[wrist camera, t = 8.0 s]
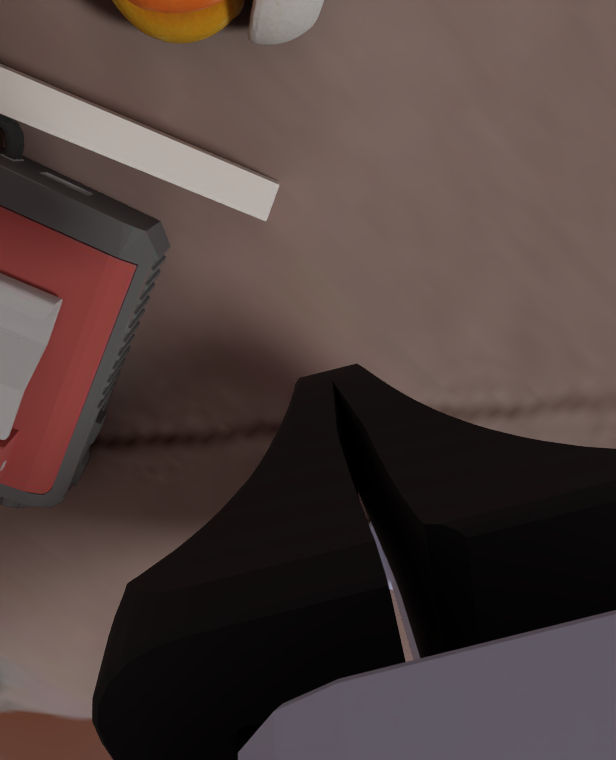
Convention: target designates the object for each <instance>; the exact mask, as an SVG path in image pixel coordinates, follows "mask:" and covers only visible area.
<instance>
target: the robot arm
mask: <svg viewBox="0 0 616 760" xmlns="http://www.w3.org/2000/svg"><path fill="white" fill-rule="evenodd" d="M358 492H359V495H360V497H361V499H362V502H363V504H364V507H365V509H366V511H367V514H368V516H369V519H370V523H369V524H368V522H367V519H366V516H365V514H364V511H363V509H362V506H361V503H360V501H359V495H358ZM390 589H391V590H393V591H394V594H395V598H396V601H397V605H398V608H399V611H400V615H401V618H402V622H403V625H404V629H405V632H406V635H407V639H408V642H409V646H410V649H411V653H412V656H413V659H414V660H412V661H408V662H405V657H404V653H403V648H402V644H401V639H400V635H399V630H398V626H397V621H396V616H395V612H394V607H393V603H392V598H391V594H390ZM92 722H93V724H94V726H95V728H96V731H97V733H98V736H99V738H100V740H101V742H102V744H103V745H104V747H105V748H106V750H107V751H108V753H109V754H110V756H111V757H112V759H113V760H616V449H610V448H595V447H583V446H575V445H568V444H561V443H554V442H547V441H541V440H535V439H530V438H525V437H520V436H516V435H512V434H507V433H503V432H499V431H495V430H491V429H488V428H484V427H481V426H477V425H474V424H471V423H468V422H466V421H463V420H460V419H457V418H454V417H451V416H449V415H446V414H444V413H441V412H439V411H437V410H434V409H432V408H430V407H428V406H426V405H424V404H422V403H420V402H418V401H416V400H414V399H412V398H410V397H408V396H406V395H405V394H403V393H401V392H400V391H398V390H396V389H394V388H393V387H391V386H390V385H388V384H387V383H385V382H384V381H382V380H381V379H379V378H378V377H376V376H375V375H373V374H372V373H370V372H369V371H368V370H366V369H365V368H363V367H362V366H360V365H358V364H353V365H349V366H345V367H341V368H337V369H333V370H329V371H325V372H321V373H317V374H313V375H309V376H306V377H302V378H299V379H298V381H297V382H296V384H295V388H294V392H293V395H292V399H291V401H290V404H289V407H288V410H287V412H286V414H285V417H284V419H283V421H282V424H281V426H280V428H279V430H278V432H277V434H276V436H275V438H274V439H273V441H272V443H271V445H270V447H269V449H268V451H267V452H266V454H265V456H264V457H263V459H262V460H261V462H260V464H259V465H258V467H257V468H256V470H255V471H254V472H253V474H252V475H251V477H250V478H249V479H248V480H247V482H246V483H245V484H244V485H243V486H242V487H241V488H240V490H239V491H238V492H237V493H236V494H235V495H234V496H233V497H232V498H231V499H230V501H229V502H228V503H227V504H226V505H225V506H224V507H223V508H222V509H221V510H220V511H219V512H218V513H217V514H216V515H215V516H214V517H213V518H212V519H211V520H210V521H209V522H208V523H207V524H206V525H204V526H203V527H202V528H201V529H200V530H199V531H198V532H196V533H195V534H194V535H193V536H192V537H191V538H189V539H188V540H187V541H186V542H185V543H183V544H182V545H181V546H179V547H178V548H177V549H176V550H174V551H173V552H172V553H170V554H169V555H167V556H166V557H165V558H163V559H162V560H160V561H159V562H158V563H156V564H155V565H153V566H152V567H151V568H149V569H148V570H146V571H145V572H144V573H142V574H141V575H139V576H138V577H136V578H135V579H133V580H132V581H130V582H129V583H128V584H127V586H126V589H125V592H124V595H123V597H122V600H121V602H120V605H119V607H118V610H117V612H116V615H115V618H114V621H113V624H112V627H111V631H110V634H109V637H108V641H107V645H106V649H105V652H104V656H103V660H102V664H101V668H100V672H99V676H98V680H97V683H96V687H95V691H94V695H93V704H92Z"/></svg>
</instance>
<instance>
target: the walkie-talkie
mask: <svg viewBox="0 0 616 760" xmlns="http://www.w3.org/2000/svg"><path fill="white" fill-rule="evenodd" d="M0 127H1V128H2V130H3V131H4V133H5V148H4V150H0V504H1V505H4V506H6V507H12V508H23V507H30V506H32V507H50V508H51V507H53V506H55V505H57V504H59V503H61V502H63V500H64V498H65V497H66V495H67V493H68V491H69V490H70V488H71V486H72V484H73V485H77V483H78V481H79V479H80V478H81V476H82V474H83V472H84V470H85V467H86V465H87V463H88V460H89V458H90V453H89V449H90V446H91V444H92V443H93V442H94V441H95V439H96V437H97V435H98V434H99V432H100V430H101V428H102V425H103V423H104V420H105V418H106V415H107V413H108V412H105V409H106V406H107V404H108V401H109V399H110V396H111V394H112V391H113V389H114V386H115V383H116V382H115V380H116V378H117V377H118V375H119V373H120V370H119V369H120V368H121V366H122V365H123V363H124V361H125V358H124V357H125V355H126V354H127V352H128V351H129V348H130V347H129V344H130V343H131V341H132V340H133V338H134V336H135V335H134V334H133V333H134V332H135V330H136V329H137V327H138V326H139V323H140V322H139V321H138V320H139V319H140V317H141V316H142V315H143V313H144V311H145V310H144V309H143V307H144V306H145V305H146V303H147V302H148V301H149V298H150V297H149V296H148V294H149V293H150V292H151V291H152V289H153V288H154V286H155V284H154V283H153V281H154V280H155V279H156V278H157V276H158V275H159V273H160V270H159V269H158V268H159V267H160V265H161V264H162V263H163V262H164V261H165V258H166V257H165V256H164V253H165V252H166V251H167V250H168V249H169V248H170V244H169V242H168V239H167V236H166V234H165V231H164V229H163V226H162V224H161V221H159V220H157V219H155V218H153V217H151V216H148V215H146V214H144V213H142V212H140V211H138V210H136V209H134V208H132V207H129V206H127V205H125V204H123V203H121V202H119V201H117V200H115V199H113V198H110V197H108V196H106V195H104V194H102V193H100V192H98V191H96V190H94V189H91V188H89V187H87V186H85V185H83V184H81V183H79V182H77V181H75V180H72V179H70V178H68V177H66V176H64V175H62V174H60V173H58V172H56V171H53V170H51V169H49V168H47V167H45V166H43V165H41V164H39V163H37V162H34V161H32V160H30V159H28V158H26V157H24V156H22V153H23V148H24V136H23V132H22V130H21V128H20V126H19V124H18V123H17V122H16V121H15V120H14V119H12V118H10V117H7V116H5V115H3V114H0ZM98 398H99V399H98Z"/></svg>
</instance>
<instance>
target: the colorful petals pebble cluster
mask: <svg viewBox="0 0 616 760" xmlns="http://www.w3.org/2000/svg"><path fill="white" fill-rule="evenodd" d="M112 1H113V3H114V4H115V5H116V7H117V8H118V9H119V11H120V12H121V13H122V14H123V15H124V16H125V18H126V19H127V20H128V21H130V22H131V23H132V24H133V25H134V26H135V27H136V28H138V29H139V30H140V31H141V32H143V33H145V34H147V35H149V36H151V37H153V38H156V39H159V40H162V41H164V42H170V43H191V42H196V41H199V40H203V39H205V38H208V37H210V36H212V35H214V34H215V33H217V32H219V31H220V30H222V29H223V28H224V27H225V26H227V25H228V24H229V23H230V22H231V21H232V20H233V19H234V18H235V17H237V16H238V15H239V14H240V12H241V11H242V9H243V6H244V2H245V0H112ZM323 2H324V0H253V4H252V9H251V13H250V23H249V28H248V38H249V40H250V41H251V42H253V43H256V44H263V45H274V44H280V43H285V42H288V41H290V40H293V39H295V38H297V37H299V36H300V35H302V34H303V33H305V32H306V31H307V30H309V29H310V28H311V27H312V26H313V25H314V23H315V22H316V20H317V18H318V16H319V13H320V11H321V8H322V5H323Z"/></svg>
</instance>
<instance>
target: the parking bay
mask: <svg viewBox="0 0 616 760" xmlns="http://www.w3.org/2000/svg"><path fill="white" fill-rule="evenodd" d="M0 114H3V115H5V116H7V117H10V118H12V119H15V120H17V121H20V122H22V123H25V124H27V125H30V126H32V127H35V128H37V129H39V130H42V131H44V132H47V133H49V134H52V135H54V136H57V137H59V138H62V139H64V140H67V141H69V142H72V143H74V144H76V145H79V146H81V147H84V148H86V149H89V150H91V151H94V152H96V153H99V154H101V155H104V156H106V157H108V158H111V159H113V160H116V161H118V162H121V163H123V164H126V165H128V166H131V167H133V168H136V169H138V170H141V171H143V172H145V173H148V174H150V175H153V176H155V177H158V178H160V179H163V180H165V181H168V182H170V183H173V184H175V185H177V186H180V187H182V188H185V189H187V190H190V191H192V192H195V193H197V194H200V195H202V196H205V197H207V198H209V199H212V200H214V201H217V202H219V203H222V204H224V205H227V206H229V207H232V208H234V209H237V210H239V211H242V212H244V213H246V214H249V215H251V216H254V217H256V218H259V219H261V220H264V221H267V218H268V215H269V212H270V210H271V207H272V204H273V201H274V199H275V196H276V193H277V191H278V188H279V182H278V181H276V180H274V179H272V178H269V177H267V176H265V175H262V174H260V173H258V172H255V171H253V170H251V169H248V168H246V167H243V166H241V165H239V164H236V163H234V162H232V161H229V160H227V159H225V158H222V157H220V156H218V155H215V154H213V153H210V152H208V151H206V150H203V149H201V148H199V147H196V146H194V145H192V144H189V143H187V142H185V141H182V140H180V139H177V138H175V137H173V136H170V135H168V134H166V133H163V132H161V131H159V130H156V129H154V128H152V127H149V126H147V125H144V124H142V123H140V122H137V121H135V120H133V119H130V118H128V117H126V116H123V115H121V114H119V113H116V112H114V111H112V110H109V109H107V108H104V107H102V106H100V105H97V104H95V103H93V102H90V101H88V100H86V99H83V98H81V97H79V96H76V95H74V94H71V93H69V92H67V91H64V90H62V89H60V88H57V87H55V86H53V85H50V84H48V83H46V82H43V81H41V80H38V79H36V78H34V77H31V76H29V75H27V74H24V73H22V72H20V71H17V70H15V69H13V68H10V67H8V66H5V65H3V64H1V63H0Z"/></svg>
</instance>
